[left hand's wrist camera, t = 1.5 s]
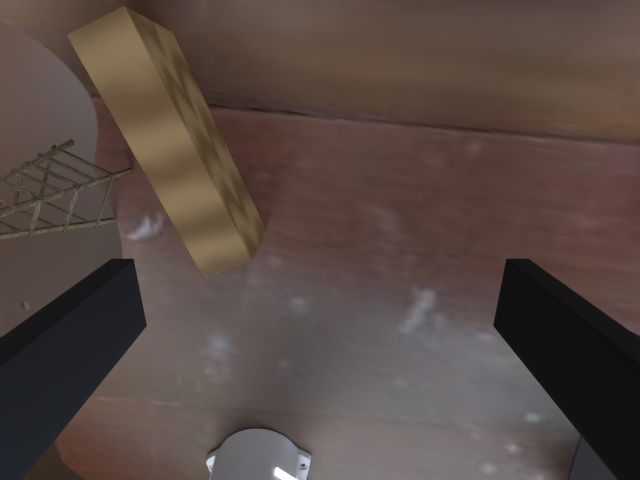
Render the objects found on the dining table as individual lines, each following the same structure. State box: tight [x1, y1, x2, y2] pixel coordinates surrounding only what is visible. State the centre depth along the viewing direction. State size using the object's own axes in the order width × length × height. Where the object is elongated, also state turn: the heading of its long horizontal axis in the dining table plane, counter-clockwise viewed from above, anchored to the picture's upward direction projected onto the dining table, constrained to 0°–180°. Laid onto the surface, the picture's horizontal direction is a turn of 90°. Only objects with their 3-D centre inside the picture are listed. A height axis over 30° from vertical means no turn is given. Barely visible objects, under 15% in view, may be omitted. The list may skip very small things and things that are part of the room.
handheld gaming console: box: [569, 436, 617, 480], centre depth 59 cm, size 23×3×10 cm, turn 2°
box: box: [67, 6, 266, 278], centre depth 40 cm, size 26×6×11 cm, turn 22°
